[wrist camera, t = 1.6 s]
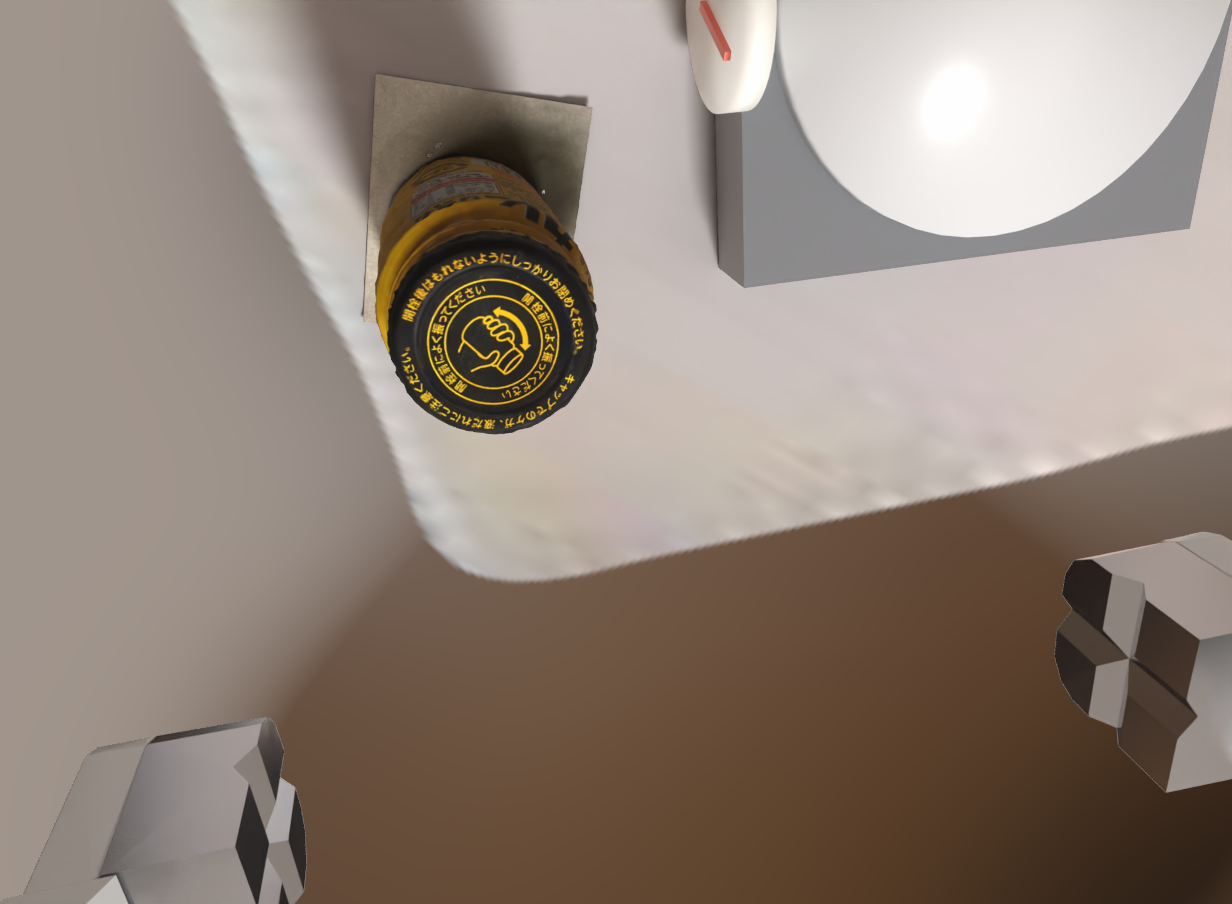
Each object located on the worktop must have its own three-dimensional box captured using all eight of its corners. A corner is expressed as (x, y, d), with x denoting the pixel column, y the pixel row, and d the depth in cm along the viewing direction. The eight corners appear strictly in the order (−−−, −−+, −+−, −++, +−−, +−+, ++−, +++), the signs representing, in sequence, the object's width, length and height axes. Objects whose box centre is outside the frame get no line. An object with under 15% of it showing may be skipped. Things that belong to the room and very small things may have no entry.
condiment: (363, 320, 34) (345, 459, 23) (375, 73, 31) (361, 104, 20) (559, 338, 36) (625, 474, 25) (590, 106, 32) (682, 150, 22)
